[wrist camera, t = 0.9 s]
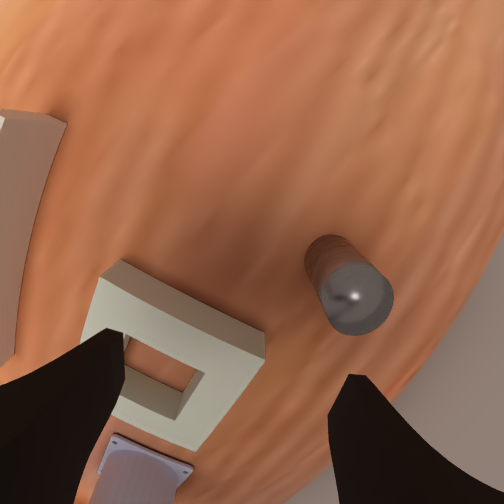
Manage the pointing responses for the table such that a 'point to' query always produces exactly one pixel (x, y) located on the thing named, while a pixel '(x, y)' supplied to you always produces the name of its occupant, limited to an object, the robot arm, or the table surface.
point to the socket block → (175, 354)
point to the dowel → (348, 286)
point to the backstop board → (20, 203)
